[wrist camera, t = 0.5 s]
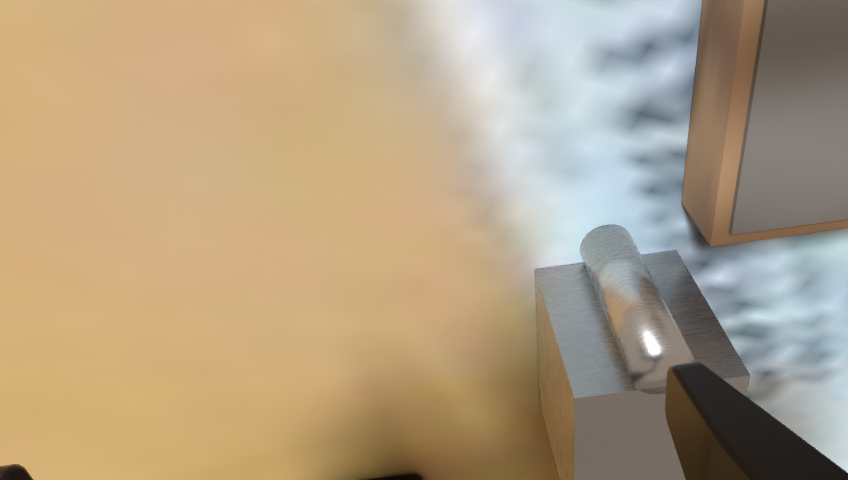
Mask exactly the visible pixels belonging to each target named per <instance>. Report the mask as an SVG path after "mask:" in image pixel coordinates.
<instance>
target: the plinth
mask: <svg viewBox="0 0 848 480" xmlns="http://www.w3.org/2000/svg"><path fill="white" fill-rule="evenodd" d="M682 204H683V206H684V207H685V209H686V210H687V212H688V213H689V215H690V217H691V218H692V220H693V221H694V223H695V224H696V226H697V227H698V229H699V230H700V232H701V233H702V235H703V236H704V238H705V239H706V241H707V242H708V244H709V245H710V247H711V246H718V245H726V244H733V243H741V242H748V241H756V240H763V239H771V238H778V237H785V236H793V235H800V234H808V233H815V232H823V231H830V230H837V229H845V228H848V0H703V3H702V12H701V22H700V31H699V41H698V50H697V60H696V69H695V79H694V88H693V98H692V107H691V117H690V126H689V136H688V145H687V155H686V164H685V174H684V184H683V193H682Z"/></svg>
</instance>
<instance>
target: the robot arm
mask: <svg viewBox="0 0 848 480" xmlns="http://www.w3.org/2000/svg"><path fill="white" fill-rule="evenodd" d="M665 415H666V420H667V424H668V427H669V430H670V433H671V436H672V439H673V442H674V445H675V448H676V452H677V455H678V458H679V461H680V464H681V467H682V470H683V473H684V476H685V479H686V480H848V473H847V472H846V471H844V470H843V469H842V468H840V467H839V466H838V465H836V464H835V463H834V462H832V461H831V460H830V459H828V458H827V457H826V456H824V455H823V454H822V453H820V452H819V451H818V450H816V449H815V448H814V447H813V446H811V445H810V444H809V443H807V442H806V441H805V440H803V439H802V438H801V437H799V436H798V435H797V434H795V433H794V432H793V431H791V430H790V429H789V428H787V427H786V426H785V425H783V424H782V423H781V422H779V421H778V420H777V419H775V418H774V417H773V416H771V415H770V414H769V413H767V412H766V411H765V410H763V409H762V408H761V407H759V406H758V405H757V404H755V403H754V402H753V401H751V400H750V399H749V398H747V397H746V396H745V395H743V394H742V393H741V392H739V391H738V390H737V389H735V388H734V387H733V386H731V385H730V384H729V383H727V382H726V381H725V380H723V379H722V378H721V377H719V376H718V375H717V374H715V373H714V372H713V371H712V370H710V369H709V368H708V367H706V366H705V365H703V364H701V363H699V362H690V363H683V364H677V365H672V366H670V367H669V369H668V371H667V379H666V395H665ZM0 480H33V479H32V477H31V476H30V474H29V473H28V472H27V470H26V469H25V468H24V467H23V466H21V465H19V464H13V465H6V466H0ZM373 480H424V479H423V478H422V477H421V476H419V475H404V476H396V477H388V478H381V479H373Z"/></svg>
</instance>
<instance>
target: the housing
mask: <svg viewBox="0 0 848 480" xmlns="http://www.w3.org/2000/svg"><path fill="white" fill-rule="evenodd" d="M580 253H581V256H582V259H583V261H584V263H578V264H571V265H563V266H556V267H548V268H541V269H535V289H536V315H537V340H538V366H539V391H540V405H541V409H542V413H543V417H544V421H545V425H546V429H547V433H548V437H549V441H550V445H551V449H552V452H553V456H554V460H555V464H556V468H557V472H558V476H559V480H686V479H685V476H684V473H683V470H682V467H681V464H680V461H679V458H678V455H677V452H676V448H675V445H674V442H673V439H672V436H671V433H670V430H669V427H668V424H667V420H666V415H665V395H666V379H667V371H668V369H669V367H670V366H672V365H677V364H683V363H690V362H699V363H701V364H703V365H705V366H706V367H708V368H709V369H710V370H712V371H713V372H714V373H715V374H717V375H718V376H719V377H721V378H722V379H723V380H725V381H726V382H727V383H729V384H730V385H731V386H733V387H734V388H735V389H737V390H738V391H739V392H741V393H742V394H743V395H745V396H746V393H747V388H748V383H749V378H750V374H749V373H748V371H747V369H746V368H745V366H744V364H743V362H742V361H741V359H740V357H739V356H738V354H737V352H736V351H735V349H734V347H733V346H732V344H731V342H730V340H729V339H728V337H727V335H726V334H725V332H724V330H723V329H722V327H721V325H720V323H719V322H718V320H717V318H716V317H715V315H714V313H713V312H712V310H711V308H710V306H709V305H708V303H707V301H706V300H705V298H704V296H703V295H702V293H701V291H700V289H699V288H698V286H697V284H696V283H695V281H694V279H693V278H692V276H691V274H690V273H689V271H688V269H687V267H686V266H685V264H684V262H683V261H682V259H681V257H680V256H679V254H678V252H677V250H675V251H667V252H660V253H652V254H645V255H640V253H639V251H638V249H637V247H636V245H635V243H634V241H633V239H632V237H631V235H630V234H629V232H628V231H627V230H626V229H625V228H623V227H621V226H618V225H604V226H600V227H598V228H595V229H594V230H592V231H591V232H589V233H588V234H587V235H586V236H585V238H584V239H583V241H582V243H581V246H580Z"/></svg>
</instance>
